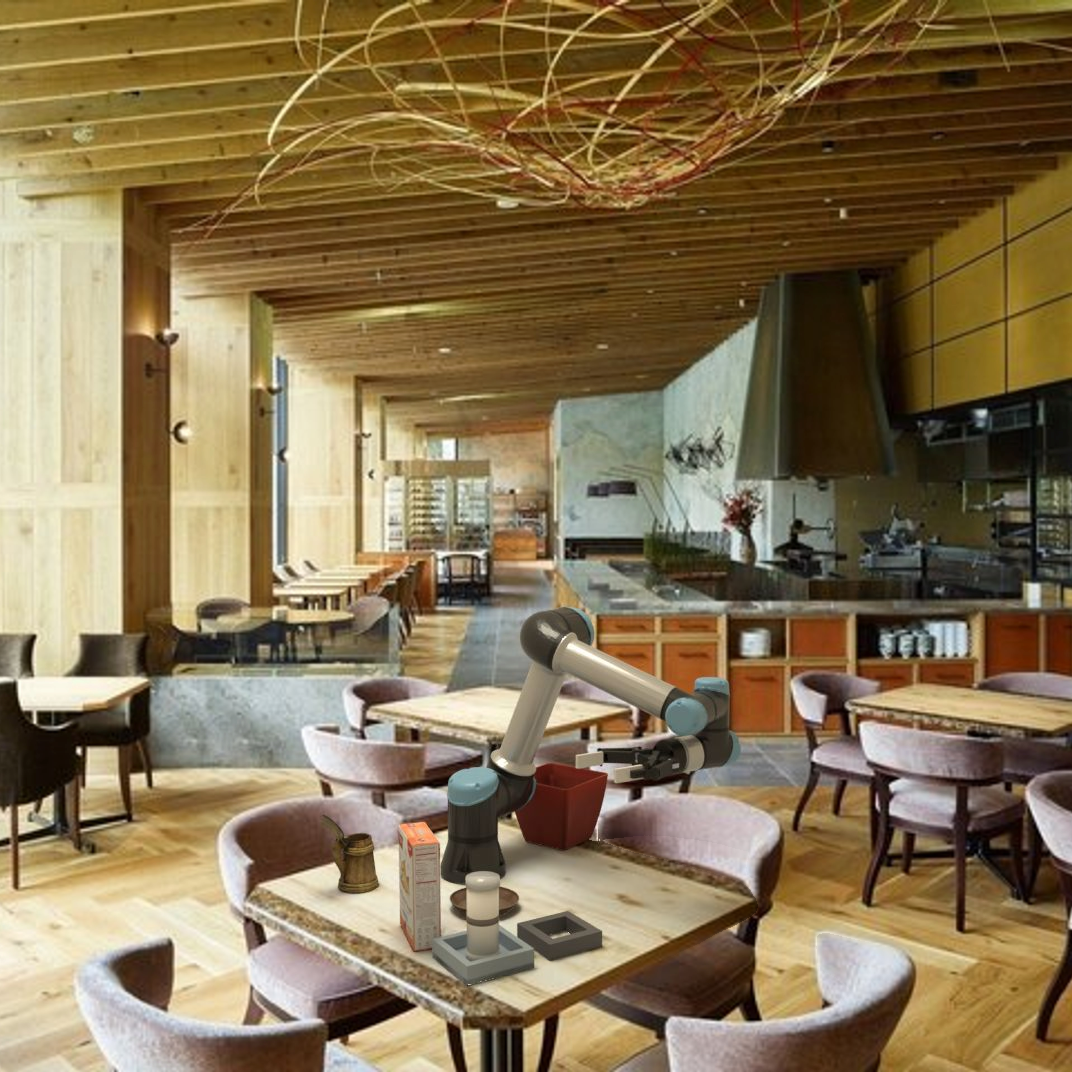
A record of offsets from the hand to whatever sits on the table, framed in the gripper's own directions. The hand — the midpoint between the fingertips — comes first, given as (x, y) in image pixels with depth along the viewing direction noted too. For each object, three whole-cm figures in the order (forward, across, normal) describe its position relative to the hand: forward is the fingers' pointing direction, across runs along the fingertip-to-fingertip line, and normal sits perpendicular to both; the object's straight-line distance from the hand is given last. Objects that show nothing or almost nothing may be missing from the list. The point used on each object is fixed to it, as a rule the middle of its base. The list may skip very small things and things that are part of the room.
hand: (595, 768), depth 210 cm
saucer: (+15, +20, -32) cm, 41 cm away
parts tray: (+28, -3, -32) cm, 42 cm away
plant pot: (-23, +50, -32) cm, 64 cm away
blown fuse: (+28, -3, -31) cm, 42 cm away
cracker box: (+33, +14, -32) cm, 48 cm away
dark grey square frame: (+11, -3, -32) cm, 34 cm away
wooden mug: (+35, +46, -32) cm, 66 cm away
